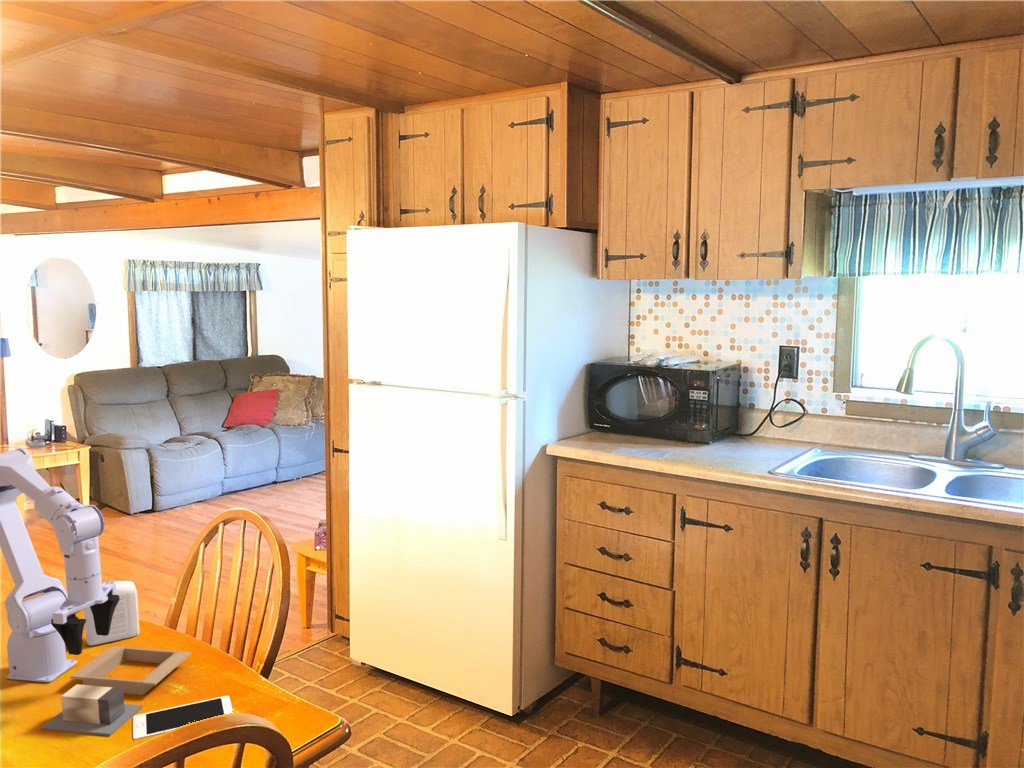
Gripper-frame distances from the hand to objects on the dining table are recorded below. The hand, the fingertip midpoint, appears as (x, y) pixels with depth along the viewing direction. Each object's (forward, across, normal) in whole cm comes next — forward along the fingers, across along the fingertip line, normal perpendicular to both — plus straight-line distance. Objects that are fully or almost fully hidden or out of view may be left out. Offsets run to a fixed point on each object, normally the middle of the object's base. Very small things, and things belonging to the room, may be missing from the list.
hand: (89, 644), depth 151 cm
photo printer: (+10, +20, +10) cm, 25 cm away
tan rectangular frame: (+9, +6, -4) cm, 12 cm away
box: (+9, -8, -6) cm, 14 cm away
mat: (+9, -8, -6) cm, 14 cm away
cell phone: (+10, -5, -22) cm, 24 cm away
